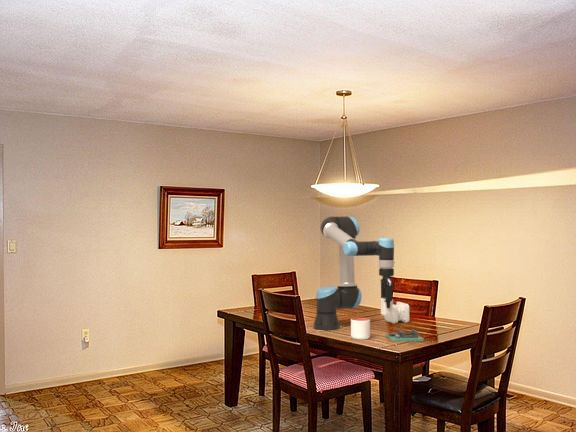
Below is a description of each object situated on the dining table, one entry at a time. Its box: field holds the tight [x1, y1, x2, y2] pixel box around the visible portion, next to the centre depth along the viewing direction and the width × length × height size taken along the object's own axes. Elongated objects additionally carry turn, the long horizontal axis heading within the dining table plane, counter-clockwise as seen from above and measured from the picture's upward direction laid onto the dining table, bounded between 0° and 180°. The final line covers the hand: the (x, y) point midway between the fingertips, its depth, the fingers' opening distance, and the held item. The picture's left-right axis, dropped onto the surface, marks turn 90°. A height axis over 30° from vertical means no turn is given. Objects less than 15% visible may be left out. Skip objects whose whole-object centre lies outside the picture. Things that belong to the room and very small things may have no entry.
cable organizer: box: [383, 301, 410, 325], centre depth 342 cm, size 15×11×12 cm
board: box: [385, 328, 425, 343], centre depth 293 cm, size 16×14×4 cm
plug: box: [380, 297, 394, 316], centre depth 287 cm, size 6×4×8 cm
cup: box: [350, 317, 371, 341], centre depth 294 cm, size 10×10×10 cm
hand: (386, 313), depth 287 cm, fingers closed on plug, 4 cm apart
